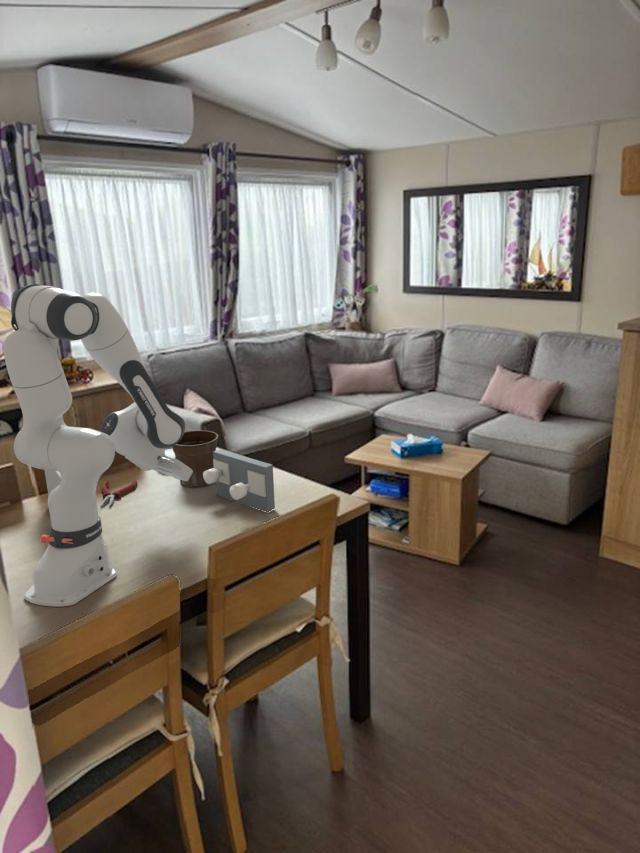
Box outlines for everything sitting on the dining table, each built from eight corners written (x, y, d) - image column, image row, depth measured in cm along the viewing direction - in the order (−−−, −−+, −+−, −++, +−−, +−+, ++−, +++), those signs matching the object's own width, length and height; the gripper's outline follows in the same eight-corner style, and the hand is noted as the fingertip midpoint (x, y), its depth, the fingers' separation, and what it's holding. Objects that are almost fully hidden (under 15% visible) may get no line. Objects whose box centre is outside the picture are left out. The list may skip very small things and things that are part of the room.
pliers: (86, 511, 200) (85, 503, 199) (105, 486, 219) (104, 479, 218) (123, 509, 200) (122, 502, 199) (138, 485, 219) (138, 478, 219)
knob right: (240, 501, 186) (239, 487, 185) (230, 497, 189) (229, 484, 187) (253, 495, 190) (252, 481, 189) (243, 492, 193) (242, 478, 191)
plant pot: (199, 493, 210) (195, 447, 205) (164, 485, 218) (159, 440, 213) (230, 477, 223) (227, 434, 218) (196, 470, 231) (192, 427, 226)
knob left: (212, 485, 198) (211, 472, 197) (203, 482, 201) (202, 469, 200) (225, 480, 202) (224, 467, 201) (216, 477, 205) (215, 464, 204)
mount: (266, 514, 193) (264, 468, 189) (215, 495, 208) (211, 452, 204) (274, 510, 196) (272, 464, 191) (223, 491, 211) (220, 449, 206)
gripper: (177, 451, 170) (208, 475, 180) (133, 438, 182) (164, 460, 192) (165, 471, 168) (197, 494, 178) (121, 456, 180) (153, 478, 190)
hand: (179, 477), depth 185 cm, fingers closed
